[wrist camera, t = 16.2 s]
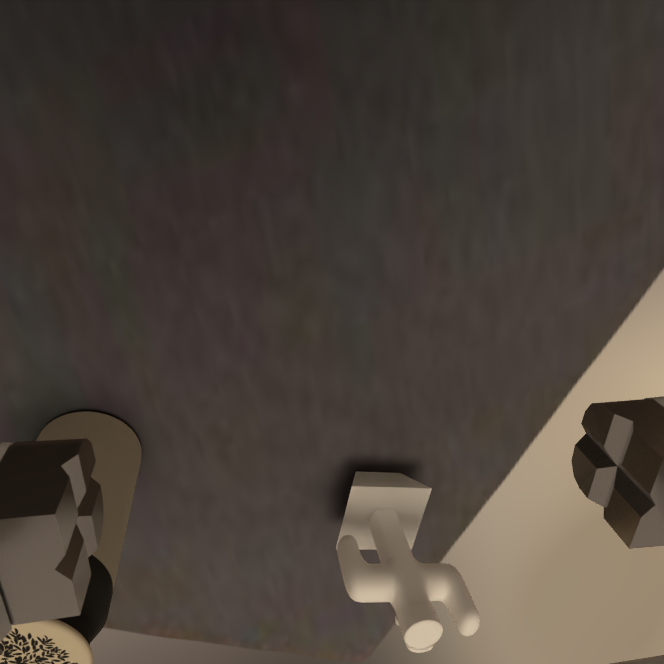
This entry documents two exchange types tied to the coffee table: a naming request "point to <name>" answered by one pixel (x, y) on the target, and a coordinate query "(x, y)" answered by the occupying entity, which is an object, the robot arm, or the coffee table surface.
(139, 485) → the coffee table surface
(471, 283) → the coffee table surface
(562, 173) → the coffee table surface
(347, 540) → the figurine
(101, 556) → the travel mug
